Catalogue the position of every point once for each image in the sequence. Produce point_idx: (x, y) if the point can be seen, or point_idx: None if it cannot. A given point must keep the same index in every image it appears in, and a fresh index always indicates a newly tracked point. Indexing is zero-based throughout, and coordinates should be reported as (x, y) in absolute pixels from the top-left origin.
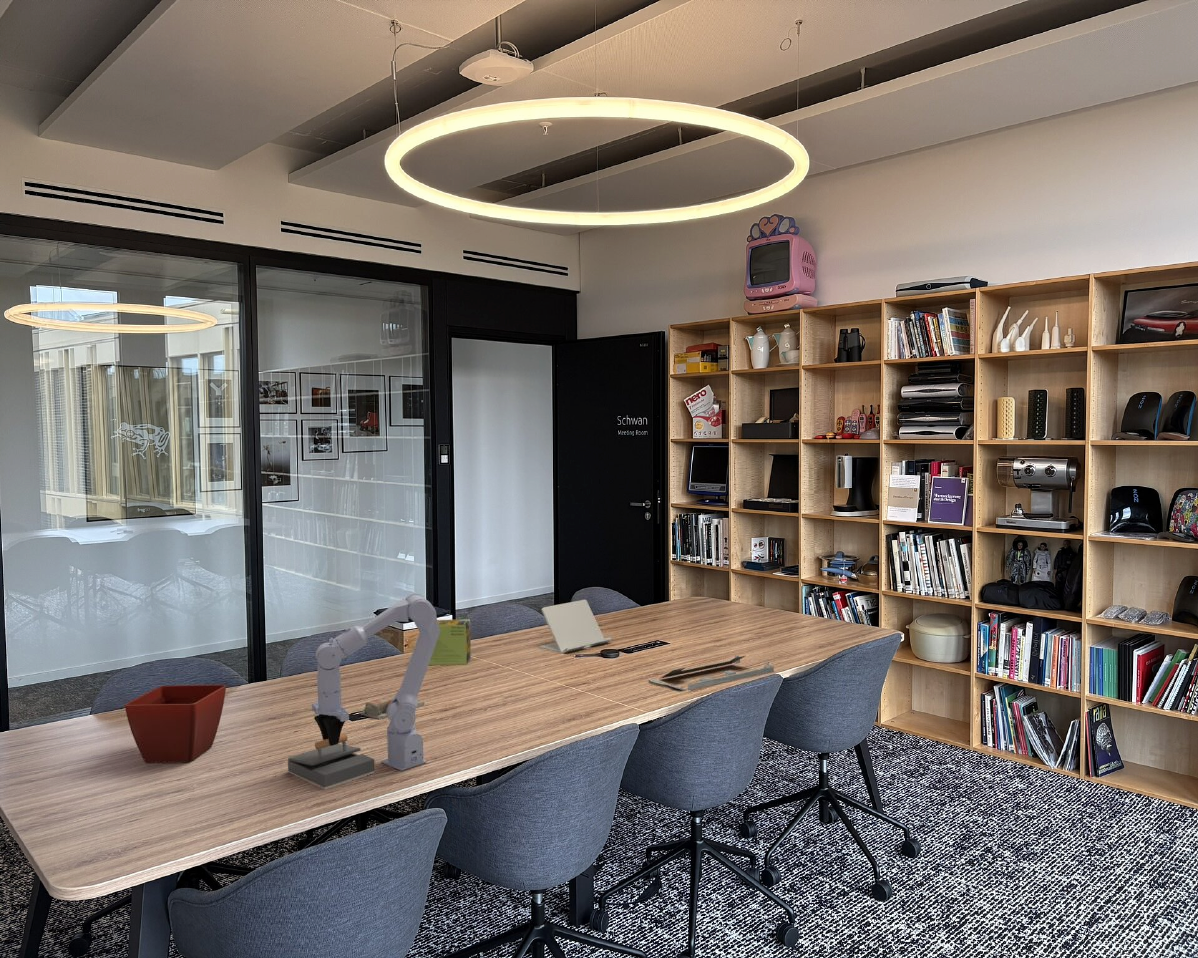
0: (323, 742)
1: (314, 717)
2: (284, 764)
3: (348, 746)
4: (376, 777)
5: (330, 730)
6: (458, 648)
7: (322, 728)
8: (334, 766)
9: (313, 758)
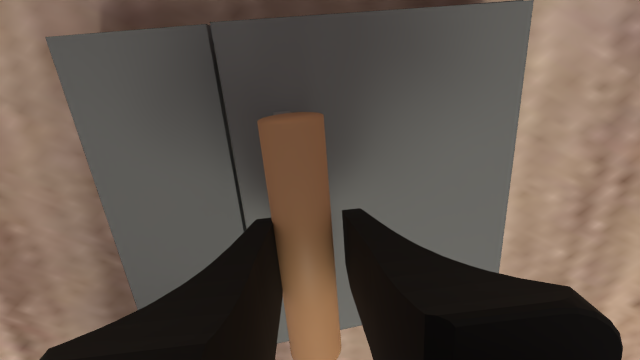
0: (274, 180)
1: (572, 306)
2: (590, 45)
3: None
4: (116, 276)
5: (171, 297)
6: None
7: (377, 266)
8: (171, 153)
9: (330, 92)
